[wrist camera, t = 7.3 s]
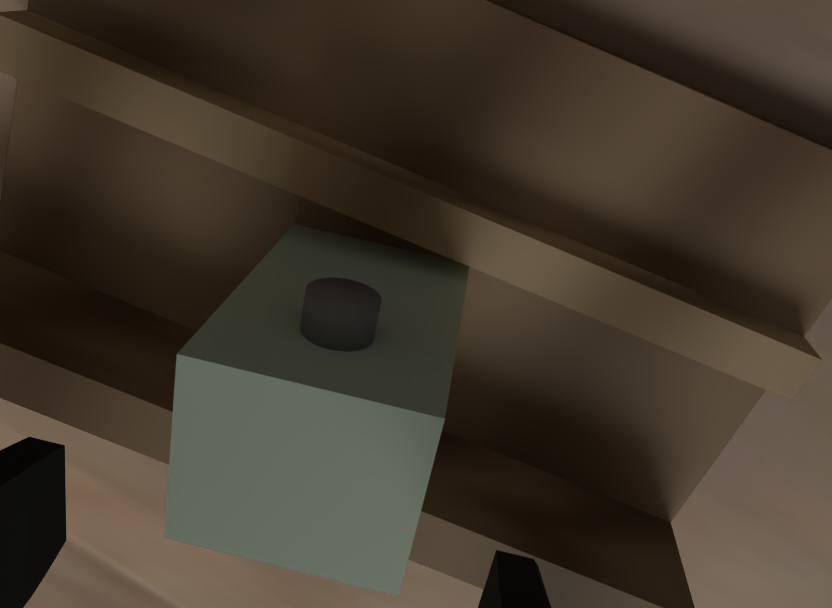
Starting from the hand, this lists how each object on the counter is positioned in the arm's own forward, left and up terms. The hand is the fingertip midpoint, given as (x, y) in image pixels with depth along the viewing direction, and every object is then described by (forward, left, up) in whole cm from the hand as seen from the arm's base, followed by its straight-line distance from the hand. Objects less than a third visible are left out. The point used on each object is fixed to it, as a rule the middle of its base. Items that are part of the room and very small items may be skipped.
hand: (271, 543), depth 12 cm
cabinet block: (0, 0, -8) cm, 8 cm away
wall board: (0, -2, -9) cm, 9 cm away
